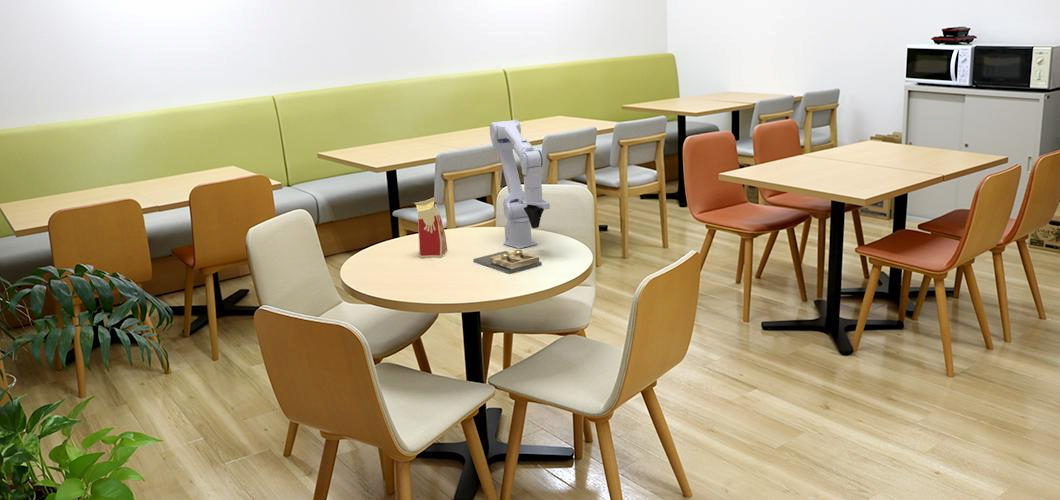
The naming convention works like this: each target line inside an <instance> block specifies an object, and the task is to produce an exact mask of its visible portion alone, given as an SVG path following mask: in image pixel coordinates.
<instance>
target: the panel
mask: <svg viewBox="0 0 1060 500" xmlns="http://www.w3.org/2000/svg"><path fill="white" fill-rule="evenodd" d="M514 251H515V250H514ZM514 251H508V252H509V254H510V257H508V258H507V260H505V259H504V258H501V255H497V256H493V257H490V262H491V263H494V264H497V265H500V266H503V267H506V268H509V269H515V268H519V267H523V266H526V265H530V264H534V263H538V262H539V261H540V256H536V255H534V254H529V253H526V252H524V251H523V254H520V257H519V256H517V255H516V254H514Z"/></svg>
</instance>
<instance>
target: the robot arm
mask: <svg viewBox="0 0 1060 500" xmlns="http://www.w3.org/2000/svg"><path fill="white" fill-rule="evenodd" d="M521 133H522V128H521V124H520V122H519V121H518V119H513V120H512V119H511V120H504V121H503V120H502V121H492V122H491V123H490V125H489V136H490V141H491V143H492V147H493V148H494V149H495V150H497V152H498V155H499V157H500V158H499V159H500V163H501V167H502V171H503V176H504V180H505V183H506V188H507V191H508V195H507V196H505V198H504V199H503V202H502V205H503V214H504V217H505V219H506V222H505V223H504V237H505V238H504V239H505V242H503V245H506V246H509V247H511V248H515V249H517V250H521V249H525V248H529V247H531V246H536V245H538V243H537V242H535V241H532V229H537V228H539V227H540V223H541V218H542V214H543V213H544V210H545V211H546V210H549V209H551V204H550V202H547V201H546V200H545V199H543V189H542V170H541V169H542V167H543V166H544V156H543V153H542V151H541V149H535V148H534V147H533V145H532V144H531V142H530V141H529V140H528V139H527V138H523V136H522V134H521ZM514 153H515V154H516V155H517V157H518V158H519V163H520V167H521V173H522V175H523V187H524V188H522V183H521V179H520V175H519V171H518V168H517V162H516V158H515V155H514ZM523 189H524V190H523Z"/></svg>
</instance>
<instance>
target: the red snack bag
mask: <svg viewBox="0 0 1060 500" xmlns="http://www.w3.org/2000/svg"><path fill="white" fill-rule="evenodd" d="M413 204H414V205H415V206H416V210H417V225H418V248H419V249H418V257H419V258H420V259H424V258H425V259H427V258H429V259H430V258H431V259H433V258H436V259H437V258H442V257H443V256H444V255H445V254H446V253H447V252H448V244H447V237H446V233H445V229H444V224H443V220H442V217H441V214H440V211H439V209H438V206H437V203H436V197H434V196H433V197H432V198H429V199H426V200H422V201H418V202H413Z"/></svg>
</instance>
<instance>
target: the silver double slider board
mask: <svg viewBox="0 0 1060 500" xmlns="http://www.w3.org/2000/svg"><path fill="white" fill-rule="evenodd" d="M509 252H510V251H507V250H504V251H499V252H496V253H492V254H488V255H484V256H481V257H480V256H479V257H476V258H475V257H474V258H473V259H472V260H473V261H472V262H473V263H476V264H478V265H482V266H484V267H488V268H490V269H493V270H496V271H499V272H502V273H505V274H508V275H510V274H513V273H518V272H522V271H524V270H529V269H532V268H536V267H540V266H542V265H543V264H542V261H540V260H539V262H538V263H534V264H530V265H526V266H523V267H519V268H515V269H509V268H506V267H503V266H500V265H497V264H494V263H491V262H490V257H493V256H497V255H501V258H504V259H505V260H507V258H508V257H510V254H509ZM523 252H524V251H523V250H522V249H516V250H514V254H516V255H517V256H519V257H520V254H523Z"/></svg>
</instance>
